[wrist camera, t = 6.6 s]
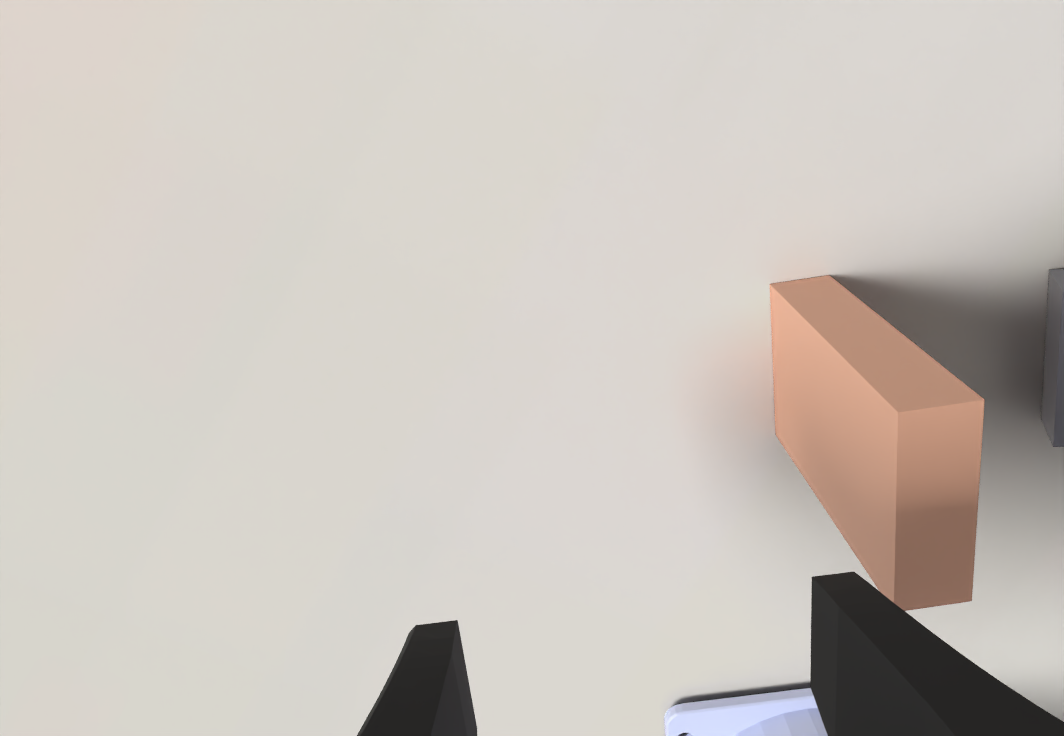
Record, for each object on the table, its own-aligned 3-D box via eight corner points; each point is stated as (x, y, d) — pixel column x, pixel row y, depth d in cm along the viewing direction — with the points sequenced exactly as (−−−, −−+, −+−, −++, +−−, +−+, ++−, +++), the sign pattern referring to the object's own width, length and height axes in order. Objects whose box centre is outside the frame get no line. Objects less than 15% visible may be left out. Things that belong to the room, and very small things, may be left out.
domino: (831, 426, 22) (972, 600, 16) (775, 434, 22) (893, 612, 16) (828, 275, 21) (984, 399, 14) (769, 284, 21) (898, 412, 14)
